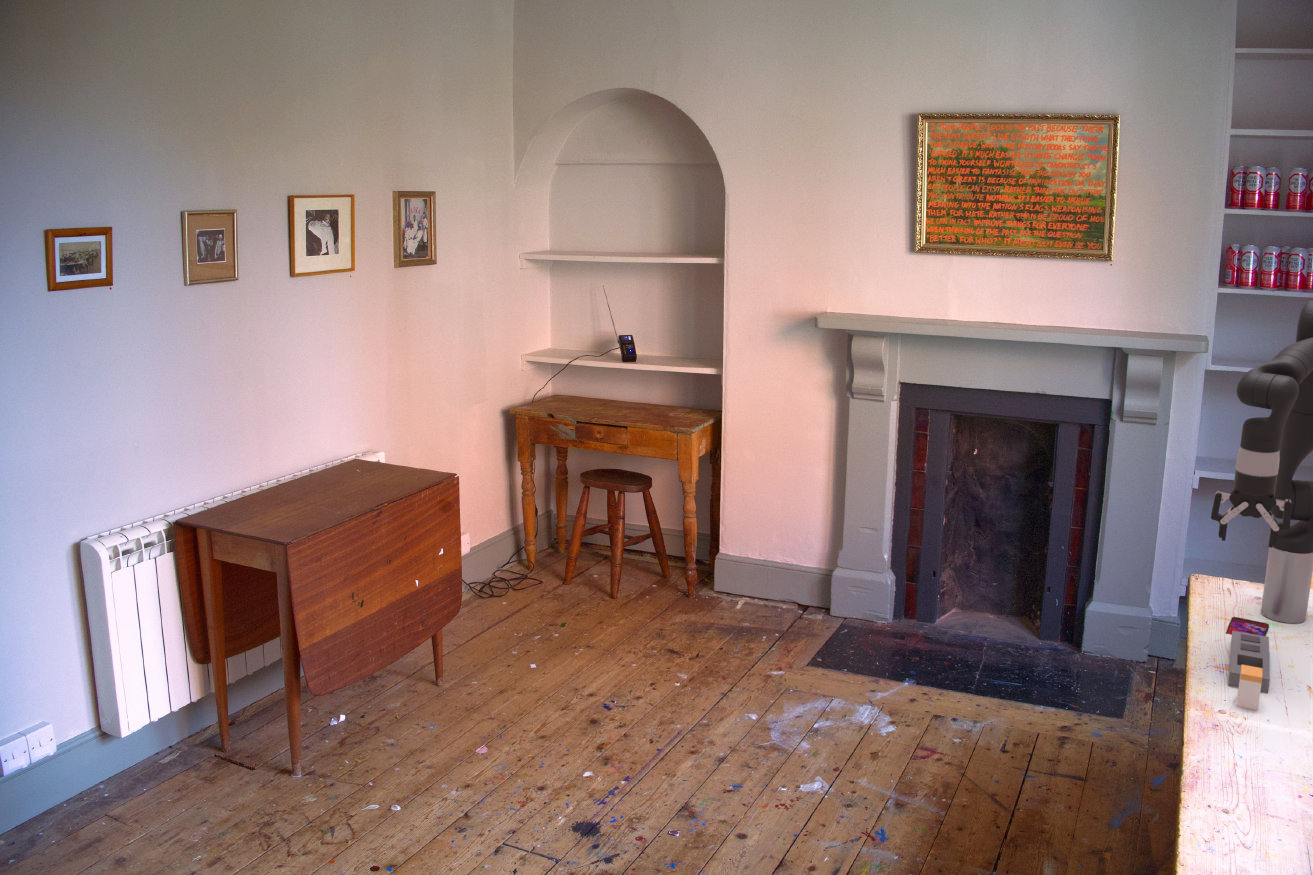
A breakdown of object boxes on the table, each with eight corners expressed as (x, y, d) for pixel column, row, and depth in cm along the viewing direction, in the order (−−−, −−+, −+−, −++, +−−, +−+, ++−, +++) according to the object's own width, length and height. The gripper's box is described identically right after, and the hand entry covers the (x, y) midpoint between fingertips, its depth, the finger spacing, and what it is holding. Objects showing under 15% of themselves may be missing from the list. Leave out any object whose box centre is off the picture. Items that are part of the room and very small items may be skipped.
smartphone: (1222, 639, 234) (1232, 615, 246) (1221, 643, 234) (1231, 619, 246) (1261, 648, 230) (1269, 623, 241) (1261, 651, 230) (1269, 627, 241)
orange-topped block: (1236, 700, 208) (1241, 664, 206) (1257, 705, 206) (1262, 668, 204) (1236, 710, 204) (1241, 673, 202) (1257, 714, 203) (1262, 677, 201)
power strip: (1230, 647, 231) (1232, 627, 230) (1266, 653, 228) (1269, 633, 226) (1227, 689, 212) (1230, 668, 211) (1267, 697, 209) (1270, 675, 208)
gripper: (1216, 470, 213) (1207, 543, 218) (1297, 479, 206) (1286, 555, 211) (1218, 459, 219) (1209, 531, 224) (1297, 468, 212) (1286, 542, 217)
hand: (1246, 542), depth 217 cm, fingers open, 8 cm apart
